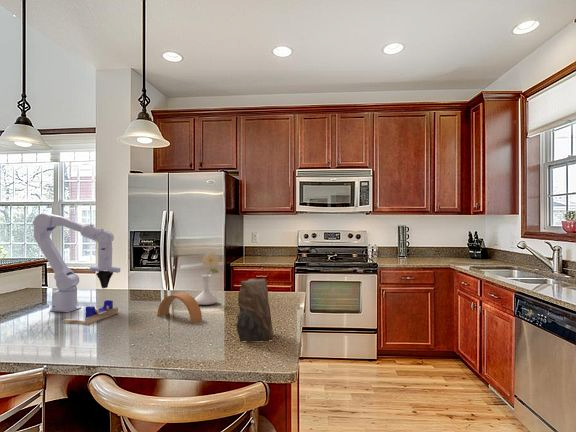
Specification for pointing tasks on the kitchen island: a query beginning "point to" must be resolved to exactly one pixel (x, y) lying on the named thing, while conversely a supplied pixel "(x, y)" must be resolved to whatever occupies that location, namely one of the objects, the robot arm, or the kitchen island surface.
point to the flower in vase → (206, 295)
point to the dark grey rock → (254, 311)
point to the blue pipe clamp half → (91, 309)
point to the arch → (187, 300)
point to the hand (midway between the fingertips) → (104, 287)
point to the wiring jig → (94, 316)
